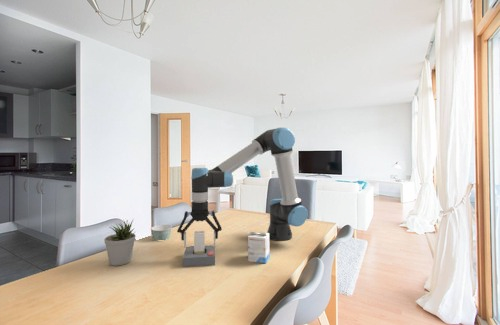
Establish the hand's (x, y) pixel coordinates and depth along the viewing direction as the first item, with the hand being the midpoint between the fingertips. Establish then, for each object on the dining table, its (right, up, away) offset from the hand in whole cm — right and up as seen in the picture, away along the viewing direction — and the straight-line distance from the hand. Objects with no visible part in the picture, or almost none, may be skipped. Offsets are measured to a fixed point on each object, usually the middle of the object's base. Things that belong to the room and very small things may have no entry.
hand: (199, 246), depth 116 cm
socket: (0, -6, 0) cm, 6 cm away
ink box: (+28, -7, +1) cm, 29 cm away
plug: (0, -5, 0) cm, 5 cm away
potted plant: (-35, -6, -3) cm, 36 cm away
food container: (-29, -6, +31) cm, 43 cm away
